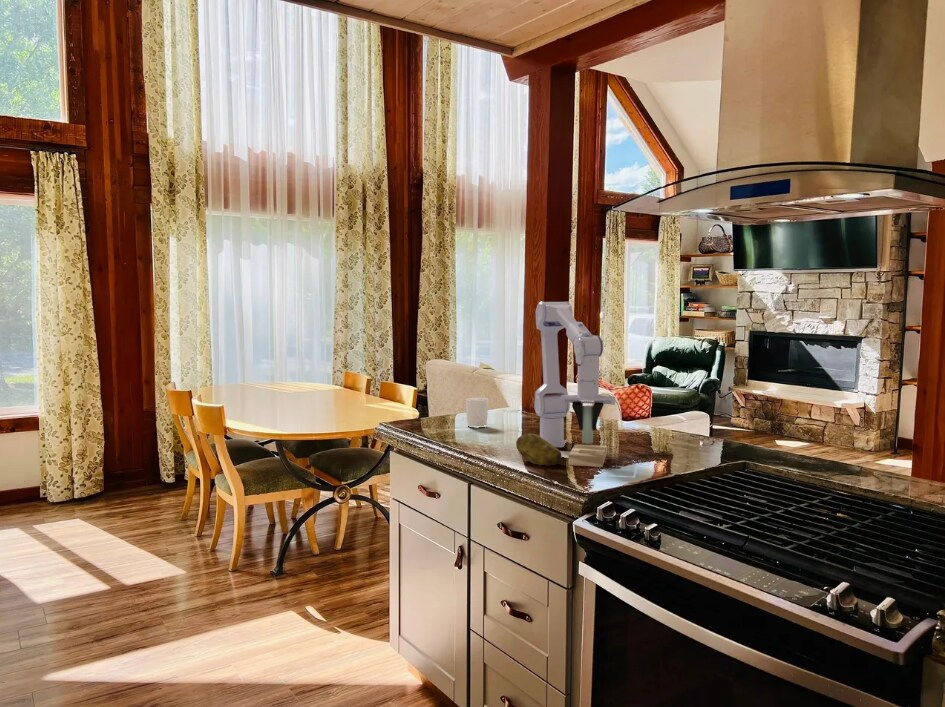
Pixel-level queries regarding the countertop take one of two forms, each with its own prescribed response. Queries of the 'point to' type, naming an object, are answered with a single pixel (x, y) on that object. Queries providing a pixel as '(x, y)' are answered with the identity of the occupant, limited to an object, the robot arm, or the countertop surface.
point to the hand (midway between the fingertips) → (587, 429)
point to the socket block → (587, 455)
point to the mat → (565, 454)
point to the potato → (538, 450)
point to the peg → (587, 424)
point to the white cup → (477, 411)
